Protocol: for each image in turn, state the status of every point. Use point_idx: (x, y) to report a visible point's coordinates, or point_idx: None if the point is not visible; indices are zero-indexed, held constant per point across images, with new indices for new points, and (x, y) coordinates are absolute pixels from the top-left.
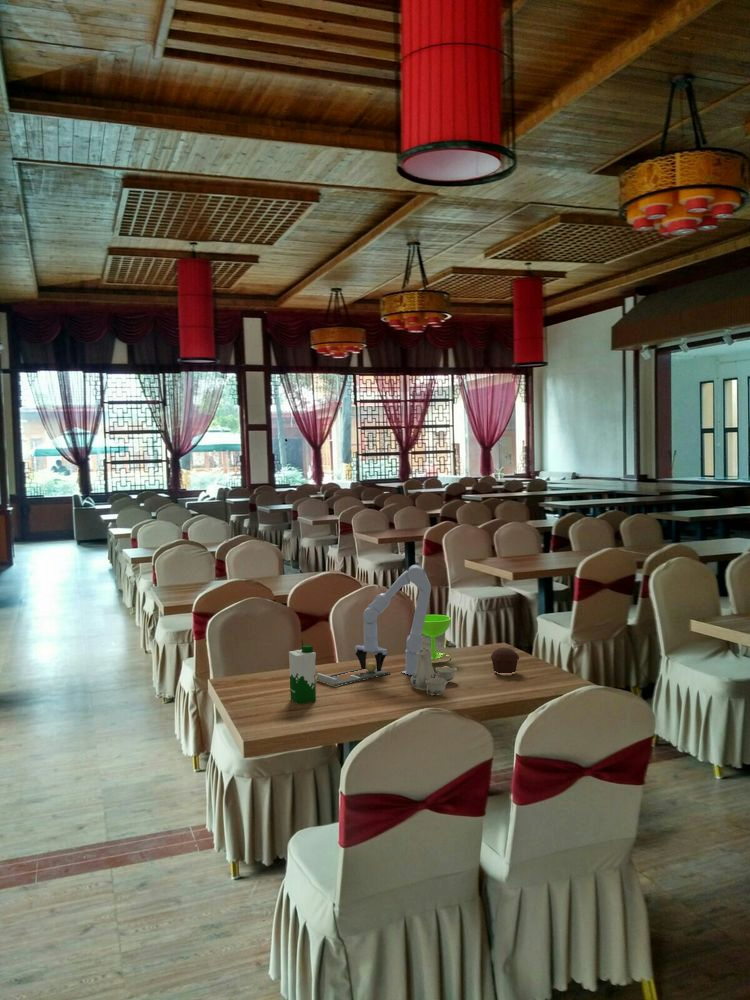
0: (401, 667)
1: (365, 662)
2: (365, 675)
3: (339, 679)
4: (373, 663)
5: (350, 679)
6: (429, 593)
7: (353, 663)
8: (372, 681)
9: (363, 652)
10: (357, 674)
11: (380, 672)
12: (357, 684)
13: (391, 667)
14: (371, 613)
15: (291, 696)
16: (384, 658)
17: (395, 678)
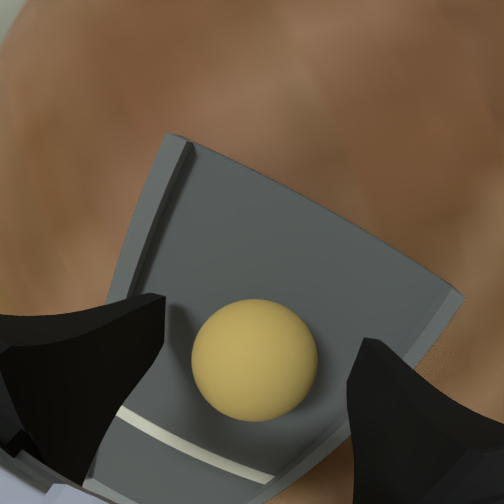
0: (456, 16)
1: (132, 319)
2: (260, 432)
3: (157, 488)
4: (286, 400)
5: (210, 492)
6: None
7: (11, 77)
8: (348, 475)
9: (48, 448)
10: (185, 417)
11: (366, 321)
12: None
13: (372, 24)
14: None
15: None
16: (476, 417)
17: (493, 379)
